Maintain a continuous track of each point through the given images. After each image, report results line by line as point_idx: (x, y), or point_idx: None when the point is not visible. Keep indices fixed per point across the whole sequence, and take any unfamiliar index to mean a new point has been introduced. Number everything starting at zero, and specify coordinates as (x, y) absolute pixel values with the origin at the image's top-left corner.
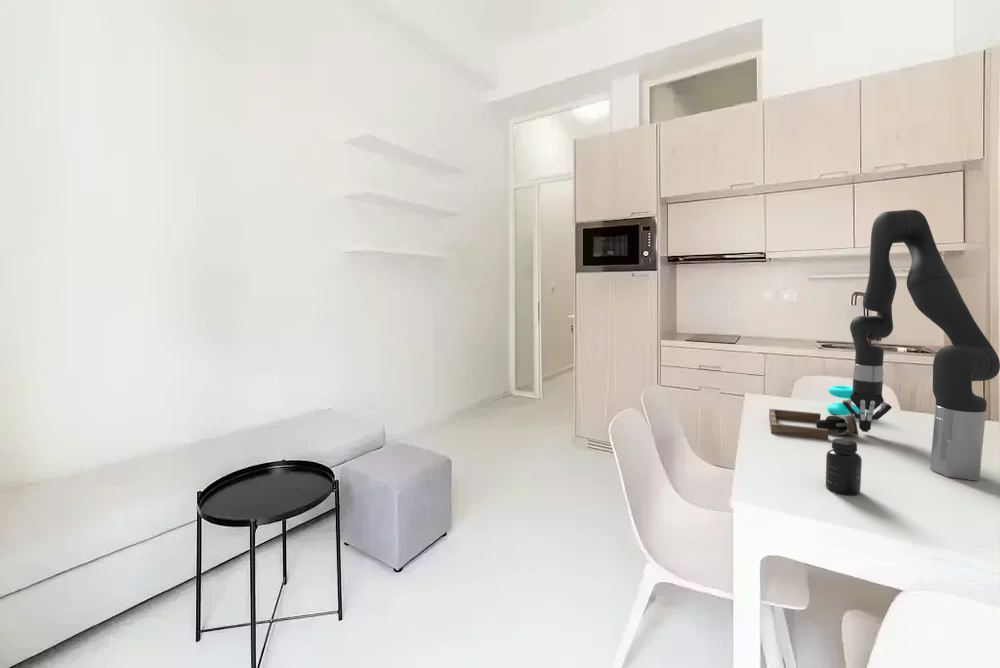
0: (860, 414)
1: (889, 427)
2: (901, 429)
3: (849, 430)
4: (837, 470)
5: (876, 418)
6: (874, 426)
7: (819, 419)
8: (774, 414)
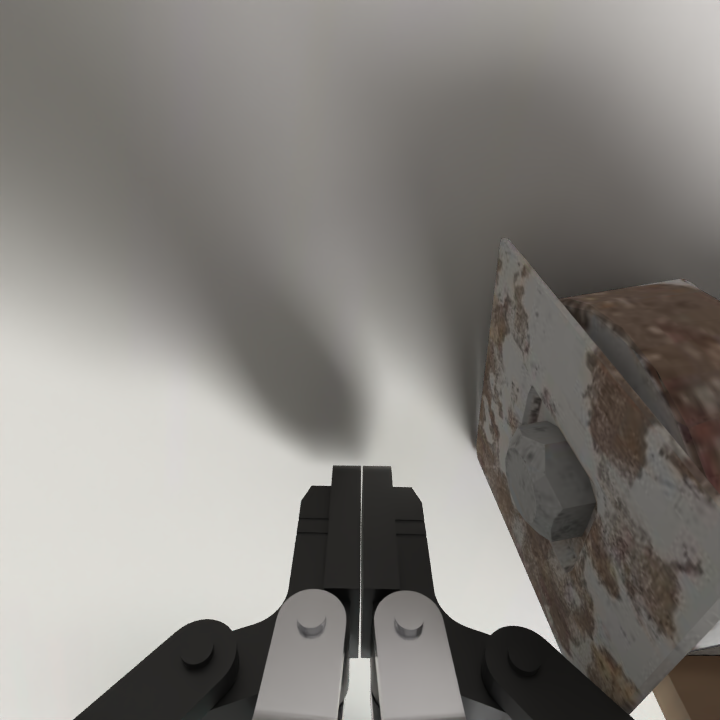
0: (460, 701)
1: None
2: (53, 681)
3: (646, 284)
4: None
5: (202, 640)
6: None
7: (683, 689)
8: None
